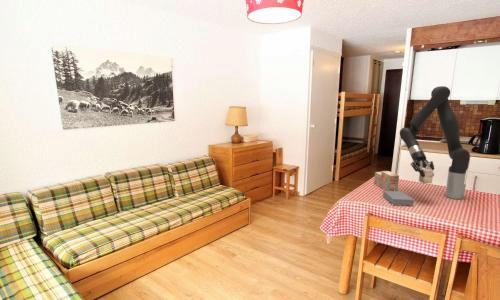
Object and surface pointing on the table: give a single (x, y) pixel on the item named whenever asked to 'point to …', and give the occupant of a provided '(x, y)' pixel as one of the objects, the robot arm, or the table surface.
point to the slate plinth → (398, 198)
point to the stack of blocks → (387, 180)
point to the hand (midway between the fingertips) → (428, 176)
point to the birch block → (426, 176)
